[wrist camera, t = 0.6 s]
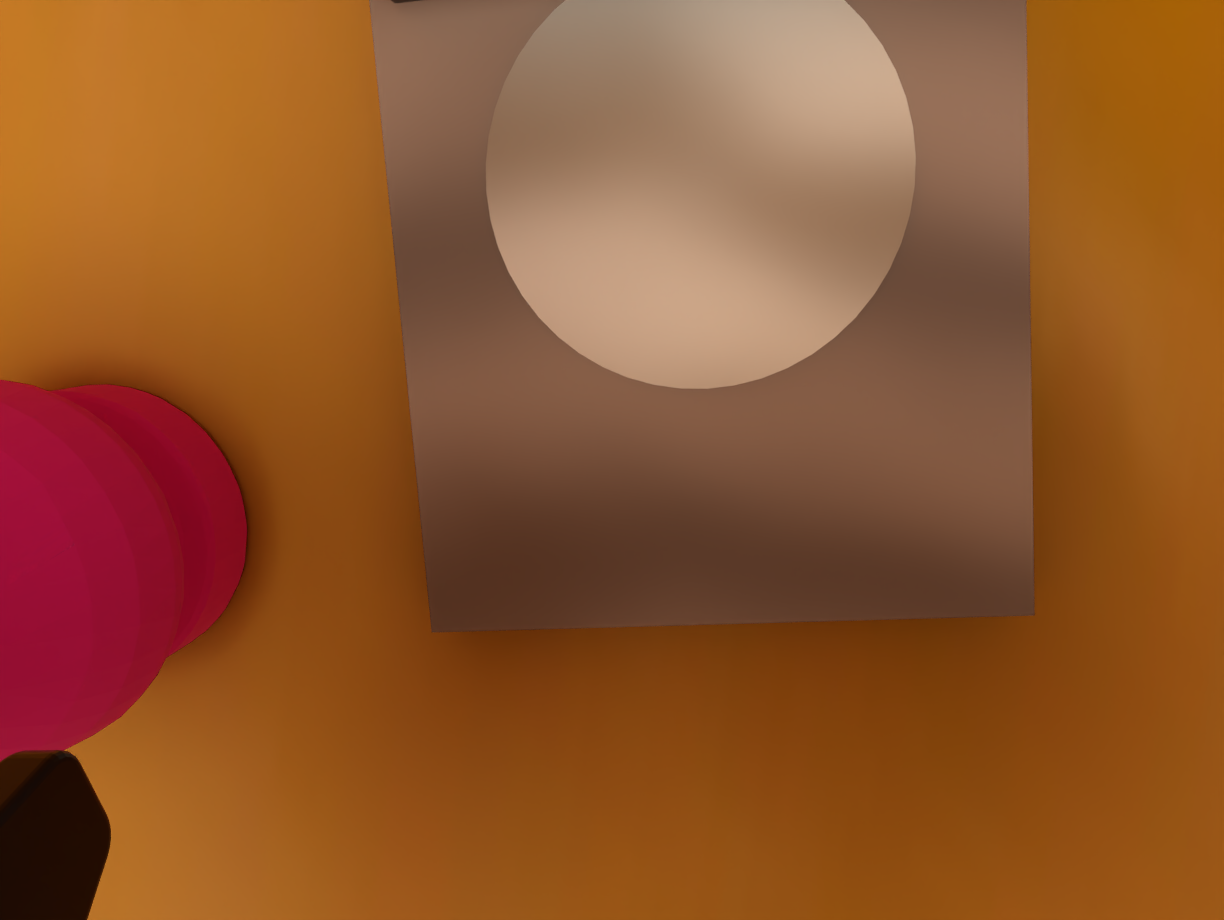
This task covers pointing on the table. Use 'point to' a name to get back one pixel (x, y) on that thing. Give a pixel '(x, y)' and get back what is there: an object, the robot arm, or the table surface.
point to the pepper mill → (103, 553)
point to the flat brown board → (713, 307)
